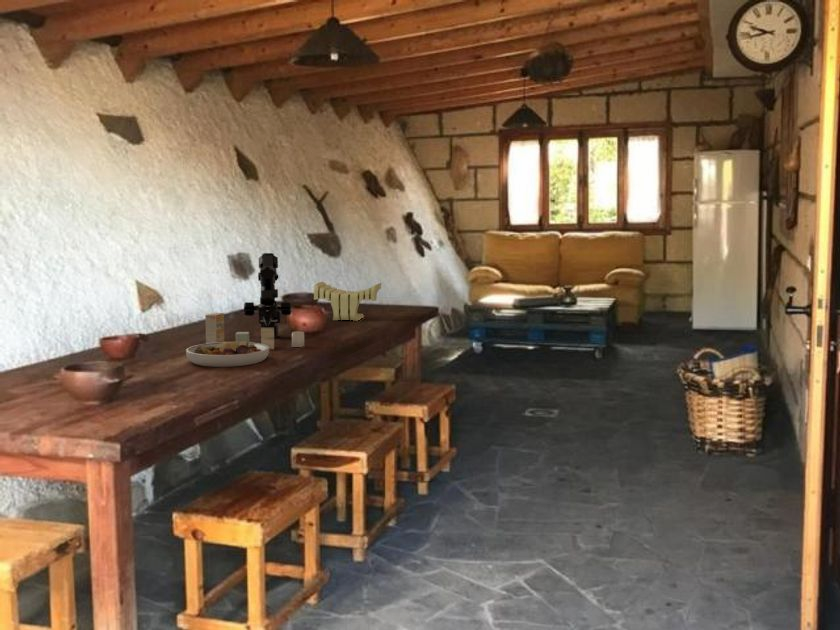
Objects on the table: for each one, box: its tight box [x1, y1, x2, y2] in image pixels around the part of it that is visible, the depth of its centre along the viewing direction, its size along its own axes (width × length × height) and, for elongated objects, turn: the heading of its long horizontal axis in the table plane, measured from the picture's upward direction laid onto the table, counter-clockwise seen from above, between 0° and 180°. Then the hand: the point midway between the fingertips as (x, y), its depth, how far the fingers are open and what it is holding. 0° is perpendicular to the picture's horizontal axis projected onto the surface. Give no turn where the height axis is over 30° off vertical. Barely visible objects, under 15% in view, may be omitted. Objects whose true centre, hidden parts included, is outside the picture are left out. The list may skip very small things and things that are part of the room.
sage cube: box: [234, 331, 250, 342], centre depth 372 cm, size 5×5×5 cm
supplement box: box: [204, 312, 225, 344], centre depth 369 cm, size 8×5×13 cm, turn 168°
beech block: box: [260, 327, 275, 350], centre depth 363 cm, size 5×5×8 cm
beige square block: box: [291, 330, 305, 348], centre depth 366 cm, size 5×5×6 cm
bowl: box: [185, 340, 270, 368], centre depth 336 cm, size 30×30×8 cm
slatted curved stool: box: [313, 281, 382, 322], centre depth 447 cm, size 30×16×18 cm, turn 81°
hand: (267, 325), depth 364 cm, fingers closed
